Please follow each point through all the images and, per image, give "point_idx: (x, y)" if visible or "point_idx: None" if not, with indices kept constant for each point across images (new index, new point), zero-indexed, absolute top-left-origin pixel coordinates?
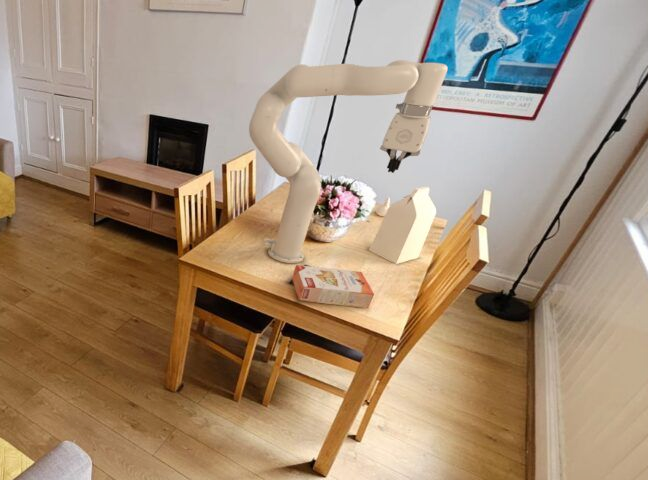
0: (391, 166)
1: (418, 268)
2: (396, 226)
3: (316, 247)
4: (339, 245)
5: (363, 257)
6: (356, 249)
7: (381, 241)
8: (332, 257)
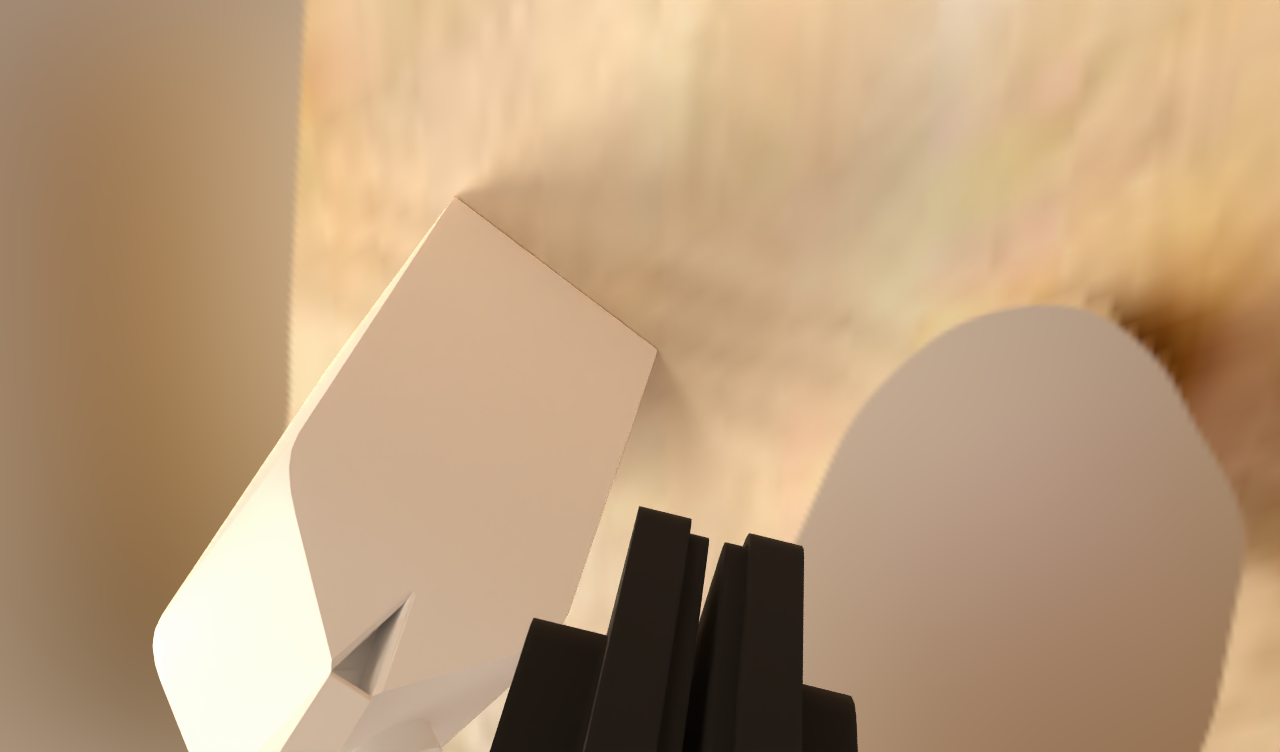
0: (746, 666)
1: (302, 193)
2: (476, 431)
3: (1096, 222)
4: (885, 343)
5: (696, 201)
6: (750, 325)
7: (580, 369)
8: (963, 77)
